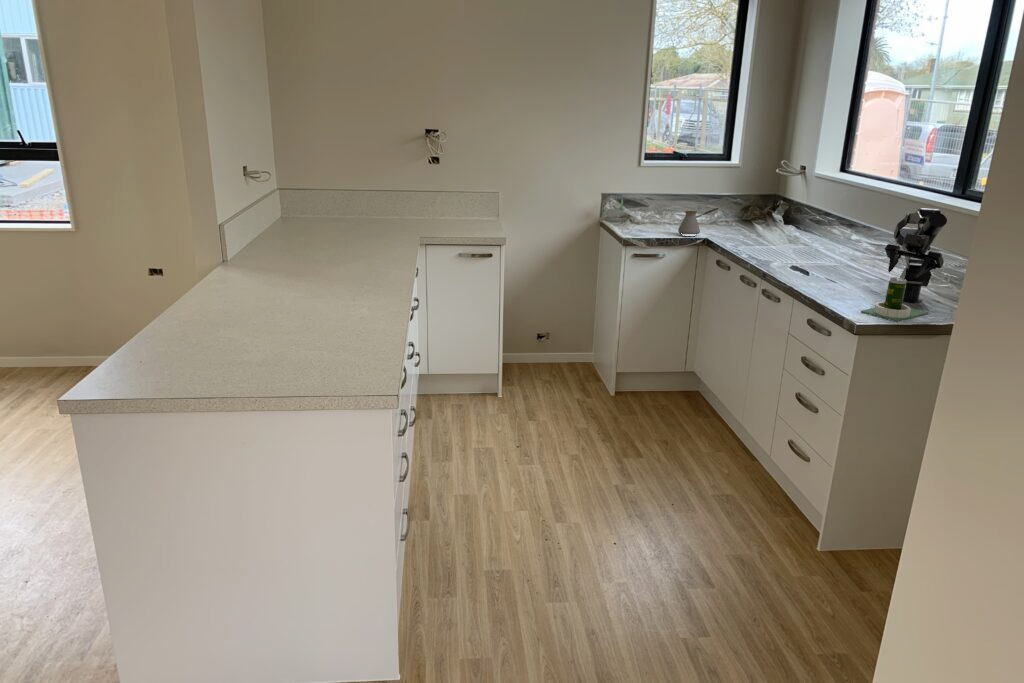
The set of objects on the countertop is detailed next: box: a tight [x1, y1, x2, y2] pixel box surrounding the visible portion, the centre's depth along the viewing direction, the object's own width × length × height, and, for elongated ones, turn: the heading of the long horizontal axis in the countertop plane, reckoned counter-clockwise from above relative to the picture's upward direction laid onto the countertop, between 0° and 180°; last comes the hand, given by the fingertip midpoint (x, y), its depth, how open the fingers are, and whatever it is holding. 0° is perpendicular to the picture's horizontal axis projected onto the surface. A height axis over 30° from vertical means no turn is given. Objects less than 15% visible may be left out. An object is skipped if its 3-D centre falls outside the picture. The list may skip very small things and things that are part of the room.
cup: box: [873, 301, 912, 318], centre depth 251 cm, size 11×11×2 cm
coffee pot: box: [677, 207, 720, 235], centre depth 386 cm, size 21×12×15 cm, turn 99°
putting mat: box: [860, 307, 929, 323], centre depth 253 cm, size 20×13×1 cm, turn 124°
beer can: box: [884, 277, 906, 310], centre depth 249 cm, size 5×5×12 cm
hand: (901, 274), depth 254 cm, fingers open, 9 cm apart
